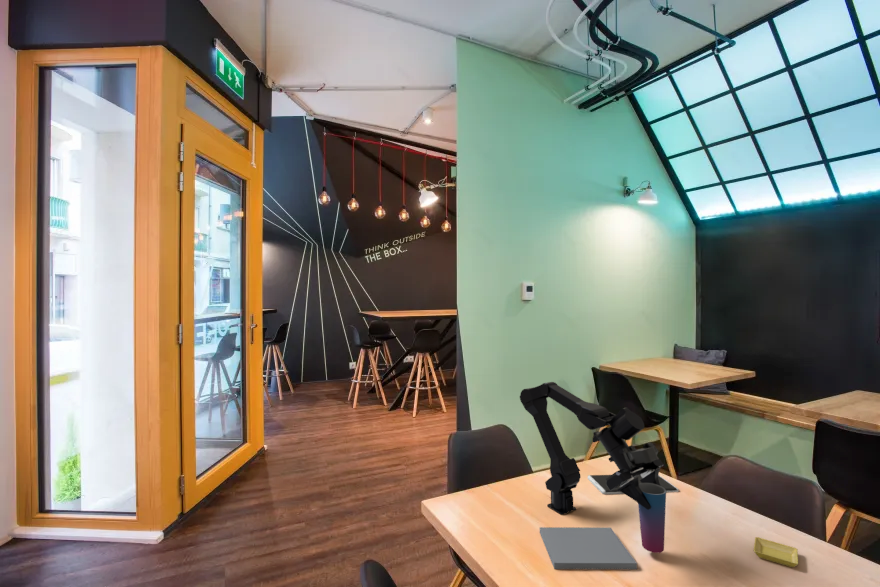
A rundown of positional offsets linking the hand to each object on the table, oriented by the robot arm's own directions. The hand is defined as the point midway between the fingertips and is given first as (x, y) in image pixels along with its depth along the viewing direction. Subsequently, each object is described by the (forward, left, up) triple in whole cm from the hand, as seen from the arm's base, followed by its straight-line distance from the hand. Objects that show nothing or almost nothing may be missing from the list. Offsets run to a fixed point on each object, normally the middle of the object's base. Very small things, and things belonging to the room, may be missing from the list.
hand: (657, 505), depth 106 cm
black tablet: (-31, +32, -14) cm, 46 cm away
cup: (-1, 0, -11) cm, 12 cm away
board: (-12, -13, -13) cm, 22 cm away
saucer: (+14, +27, -14) cm, 33 cm away
